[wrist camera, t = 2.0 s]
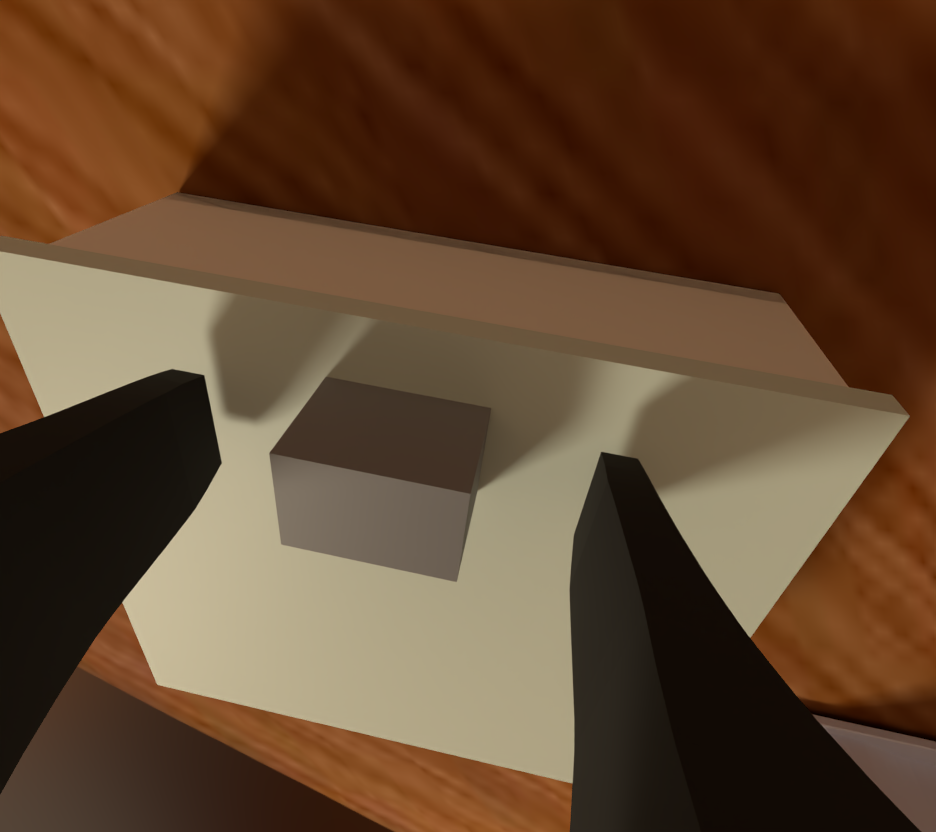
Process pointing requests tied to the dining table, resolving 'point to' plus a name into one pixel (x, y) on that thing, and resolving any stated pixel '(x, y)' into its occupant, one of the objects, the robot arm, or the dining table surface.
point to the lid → (423, 490)
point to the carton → (468, 282)
